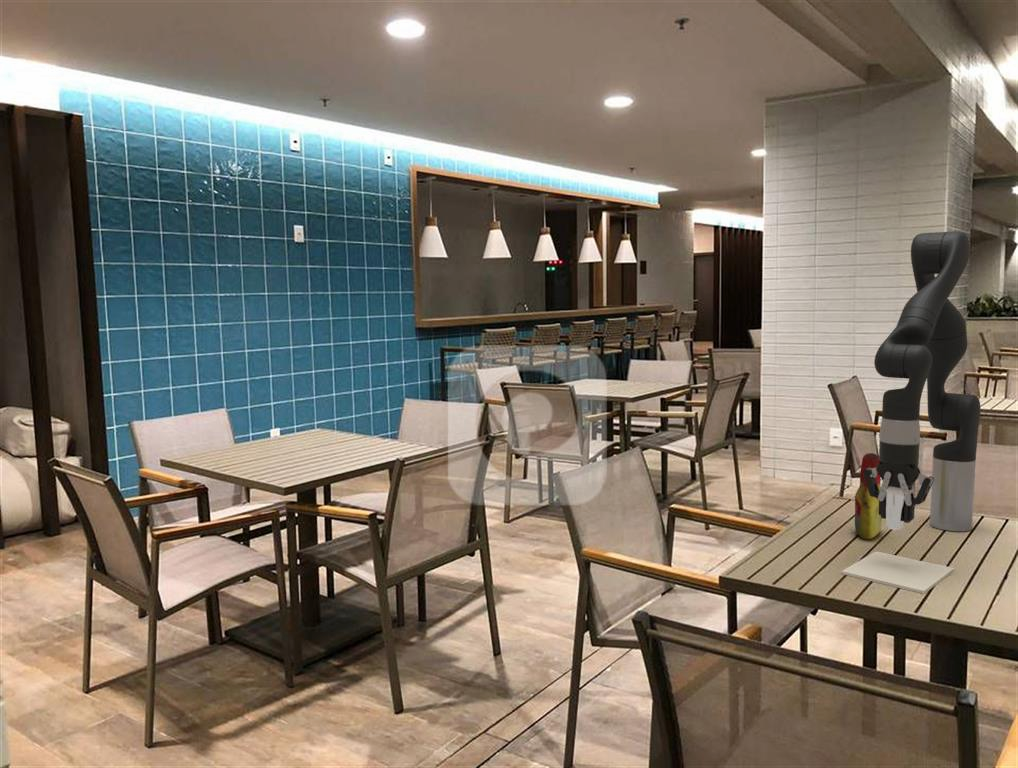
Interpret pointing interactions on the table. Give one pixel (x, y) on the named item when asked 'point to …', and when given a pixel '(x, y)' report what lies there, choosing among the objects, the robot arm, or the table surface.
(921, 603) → the table surface
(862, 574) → the mat
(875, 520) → the bottle
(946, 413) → the robot arm
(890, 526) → the milkshake
